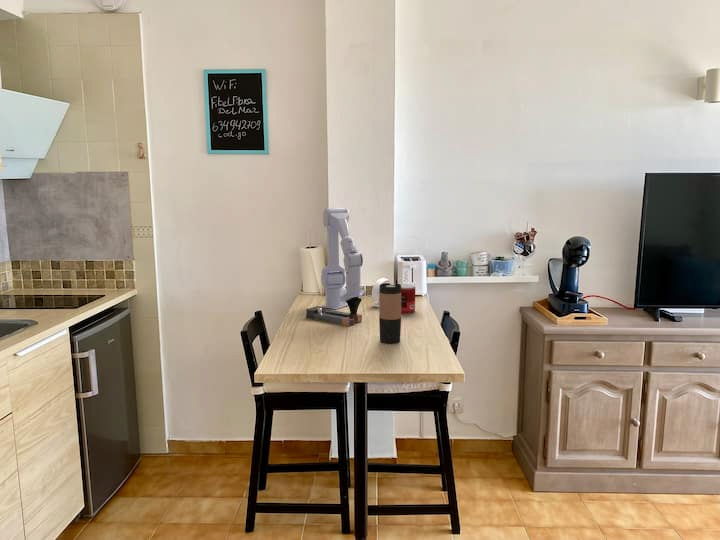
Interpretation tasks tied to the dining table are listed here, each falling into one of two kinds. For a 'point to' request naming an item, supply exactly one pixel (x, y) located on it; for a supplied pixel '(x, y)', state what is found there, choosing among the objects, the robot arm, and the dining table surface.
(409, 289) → the canned food
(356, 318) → the tong arm
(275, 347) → the dining table surface
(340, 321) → the tongs base
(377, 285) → the headphone stand
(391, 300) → the travel mug
